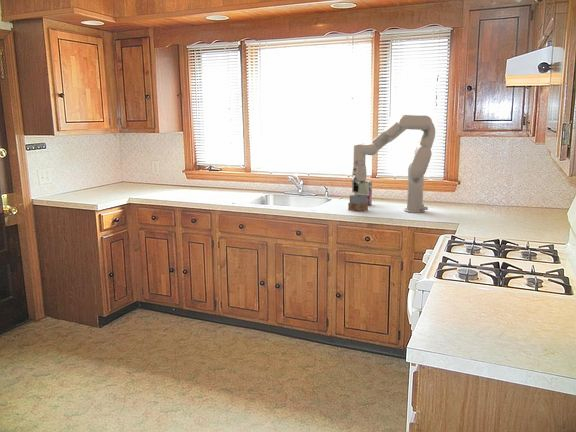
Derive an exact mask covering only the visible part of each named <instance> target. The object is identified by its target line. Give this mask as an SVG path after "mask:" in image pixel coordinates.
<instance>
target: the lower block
mask: <svg viewBox="0 0 576 432" xmlns="http://www.w3.org/2000/svg"><path fill="white" fill-rule="evenodd" d="M347 205H348V207H347V208H348V209H347V210H348V211H350V212H356V213H357V212H359V213H362V212H365V210H366V211H368V210H369V206H368V203H364V204H353V203H350V202H348V204H347Z"/></svg>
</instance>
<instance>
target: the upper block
mask: <svg viewBox="0 0 576 432" xmlns="http://www.w3.org/2000/svg"><path fill="white" fill-rule="evenodd" d="M349 203H353V204H364V203H367V195H362V194H355V193H353V194H350V195H349Z"/></svg>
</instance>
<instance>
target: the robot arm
mask: <svg viewBox="0 0 576 432" xmlns="http://www.w3.org/2000/svg"><path fill="white" fill-rule="evenodd" d="M406 130H414V131H415V130H417V131H419V130H420V136H419V139H418V142H417V144H416V148H415V150H414V157H413V158H412V162H411V163H410V164H409V165H408V169H407V177H408V178H407V197H406V198H407V200H406V201H407V202H406V208H404V212H406V213H410V214H411V213H413V214H415V213H416V214H418V213H419V214H420V213H425V212H426V211H428V210H429V207H428V206H425V204H423V203H424V182H425V180H424V179H425V178H424V176H425V175H426V172H427V169H428V167H429V165H430V161H431V158H432V147H433V144H434V142H435V137H436V127H435V125H434V122H433V120H432V118H431V117H430V116H429V115H415V114H413V115H412V114H402V115H401V116H399V117H398V118H397V119H395V120H394V121H393V122H392V123H391V124H389V125H388V126H387V127H386V128H385V129H384V130H382V132H381V133H379V134H378V135H377V136H376V137H375V138H374V139H372V140H371V141H370V142H369V143H366V144H365V143H361V142H360V143H359V142H358V143H357V142H356V143H355V144H354V145H353V167H352V176H351V177H352V178H351V181H350V182H352V183H353V185H354V189H353V191H355V192H358V181H360V183H365V181H367V165H366V157H367V156H375V155H377V153H378V152H379V151H380V150H381V149H382V148H383V147H385V146H386V145H387V144H389V143H391V142H393V141H394V140H395V139H397V138H398V137H399V136H400V135H402V134H403V133H404V132H406ZM366 155H367V156H366ZM352 183H351V184H352Z"/></svg>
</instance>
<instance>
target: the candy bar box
mask: <svg viewBox="0 0 576 432" xmlns="http://www.w3.org/2000/svg"><path fill="white" fill-rule="evenodd" d="M358 182H359V183H360V181H358ZM354 194H362V195H367V203H368V207H369V206H371V205H372V203H373V202H372V201H373V198H372V197H373V195H372V194H373V181H372V180H365V192H364V193H354Z"/></svg>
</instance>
